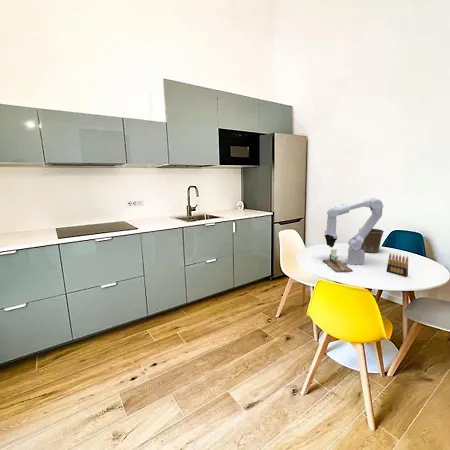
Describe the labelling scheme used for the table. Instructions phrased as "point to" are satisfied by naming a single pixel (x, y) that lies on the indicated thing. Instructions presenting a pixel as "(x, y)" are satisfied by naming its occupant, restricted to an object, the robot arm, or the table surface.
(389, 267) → the ammunition clip
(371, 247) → the plant pot
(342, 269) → the brown plate
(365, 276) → the table surface
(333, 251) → the green sliding block
